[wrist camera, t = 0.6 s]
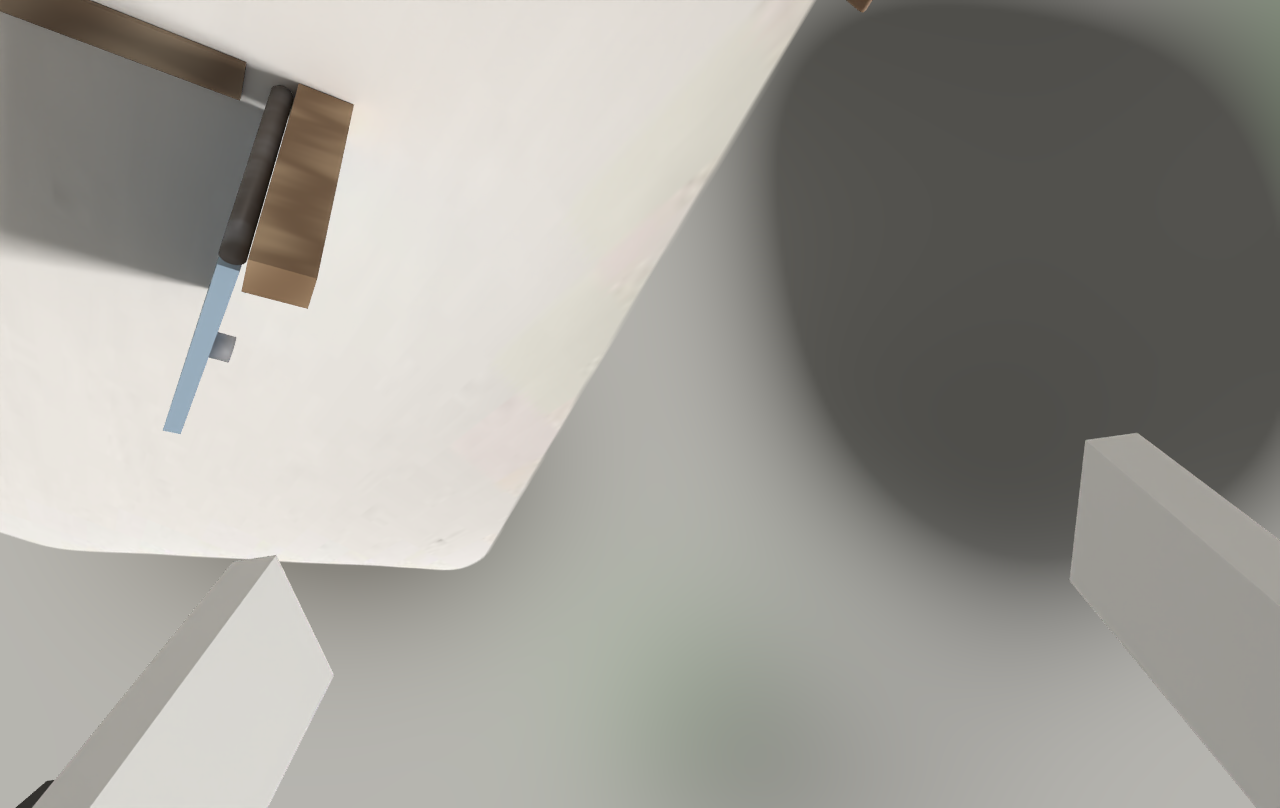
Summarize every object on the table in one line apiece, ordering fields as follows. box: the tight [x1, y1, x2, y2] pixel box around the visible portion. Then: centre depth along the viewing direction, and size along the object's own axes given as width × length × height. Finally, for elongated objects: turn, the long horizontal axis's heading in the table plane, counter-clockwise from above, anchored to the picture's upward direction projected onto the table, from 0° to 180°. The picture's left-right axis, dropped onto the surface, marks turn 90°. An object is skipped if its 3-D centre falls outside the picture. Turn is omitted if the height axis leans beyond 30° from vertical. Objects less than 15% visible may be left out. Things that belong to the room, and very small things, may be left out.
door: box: [163, 256, 241, 434], centre depth 45 cm, size 18×2×12 cm, turn 144°
